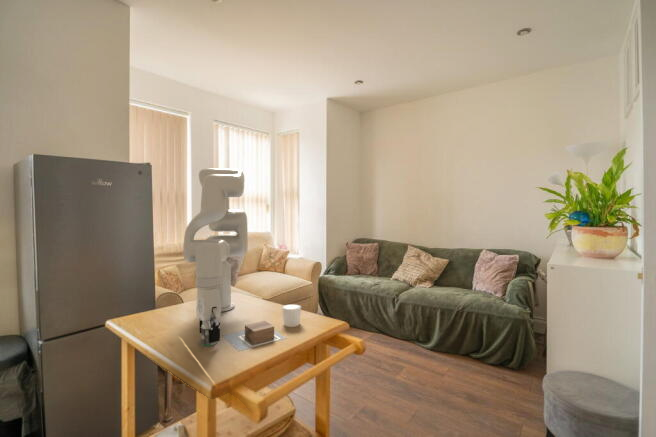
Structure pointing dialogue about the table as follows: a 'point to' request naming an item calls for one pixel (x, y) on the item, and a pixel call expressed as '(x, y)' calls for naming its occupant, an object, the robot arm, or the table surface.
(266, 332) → the walnut base block
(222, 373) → the table surface
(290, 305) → the white cylinder
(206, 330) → the pill bottle
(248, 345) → the blueprint board
